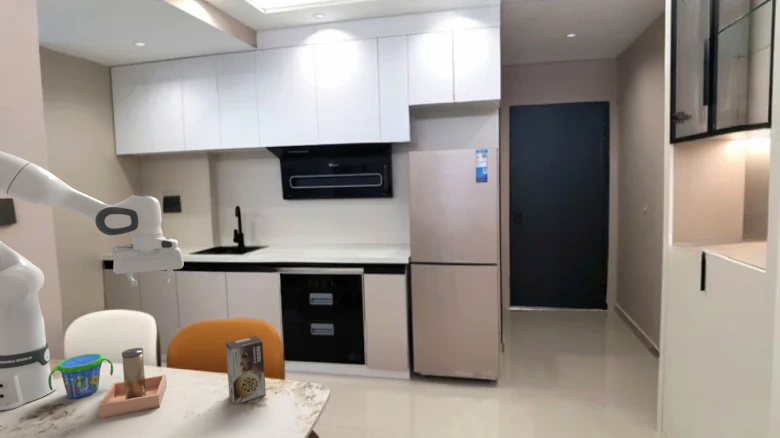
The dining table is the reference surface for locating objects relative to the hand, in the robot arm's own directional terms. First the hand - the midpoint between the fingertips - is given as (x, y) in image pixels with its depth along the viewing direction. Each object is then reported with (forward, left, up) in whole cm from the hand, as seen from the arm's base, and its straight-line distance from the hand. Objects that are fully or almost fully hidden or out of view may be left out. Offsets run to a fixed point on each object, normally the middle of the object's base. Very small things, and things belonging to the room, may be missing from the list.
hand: (150, 284), depth 138 cm
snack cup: (-18, -10, -29) cm, 36 cm away
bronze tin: (-2, -22, -29) cm, 36 cm away
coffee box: (+28, -32, -29) cm, 52 cm away
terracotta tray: (-2, -22, -29) cm, 37 cm away
